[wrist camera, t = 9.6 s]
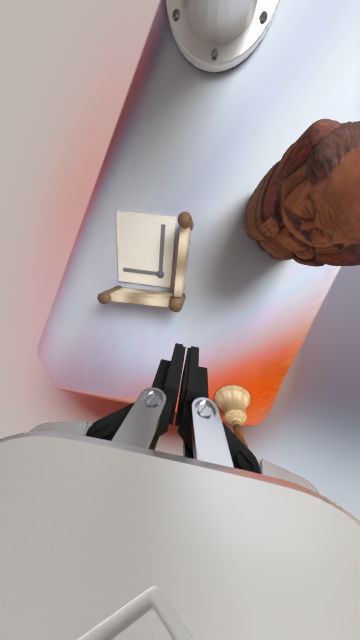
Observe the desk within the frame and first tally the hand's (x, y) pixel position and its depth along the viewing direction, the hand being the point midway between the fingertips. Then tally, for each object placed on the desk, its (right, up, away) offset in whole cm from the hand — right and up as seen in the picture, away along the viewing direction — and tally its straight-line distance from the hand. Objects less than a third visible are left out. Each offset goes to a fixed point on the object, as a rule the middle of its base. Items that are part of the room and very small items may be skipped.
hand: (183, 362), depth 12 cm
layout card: (-6, +15, +18) cm, 24 cm away
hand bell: (+12, -16, +29) cm, 35 cm away
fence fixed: (0, +13, +18) cm, 22 cm away
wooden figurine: (+14, +18, +15) cm, 27 cm away
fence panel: (-7, +8, +21) cm, 23 cm away
